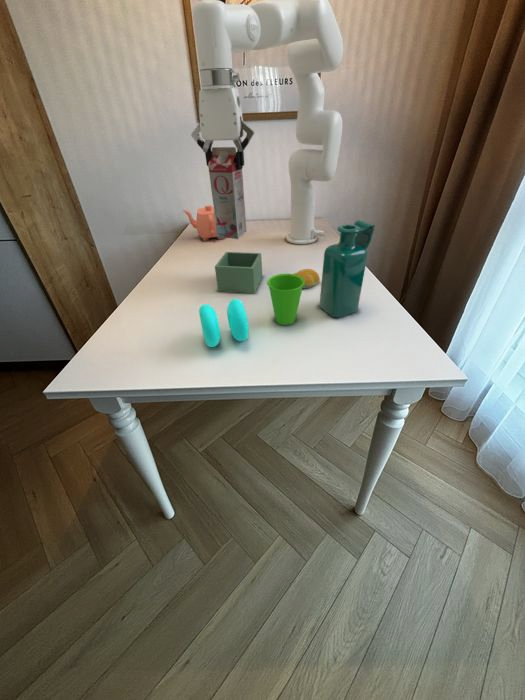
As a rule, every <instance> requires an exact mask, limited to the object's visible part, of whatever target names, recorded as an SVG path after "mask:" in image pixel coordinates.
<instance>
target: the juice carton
mask: <svg viewBox="0 0 525 700" xmlns="http://www.w3.org/2000/svg"><path fill="white" fill-rule="evenodd" d="M211 151H212V154H213V155H212V157H211V159H210V161H209V163H208V166H207V167H208V173H209V174H208V175H209V182H210V189H211V197H212V198H211V199H212V207H214V214H215V222H216V229H217V237H222V239H223V238H225V239H236V240H238V239H240V238H241V237H242V236H243V235H245V233H247V219H246V218H247V217H246V204H245V189H244V176H243V168H242V169H241V170H238V169H237V160H236V152H237V148H236V146H224V147H223V146H221V147H220V146H219V147H218V146H216V147H215V146H214V147H213V146H212V147H211ZM217 237H216V238H217Z"/></svg>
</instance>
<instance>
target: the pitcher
mask: <svg viewBox="0 0 525 700" xmlns="http://www.w3.org/2000/svg"><path fill="white" fill-rule="evenodd" d="M375 227H376V225H375V224H373V223H370V222H367V221H365V220H361V219H357V220H356V221H355V222H354V224H350V223H349V224H341V225H338V226H337V227H336V231H338V232H339V241H338V243H333V244H330V245H328V246H327V247H326V248H325V250H324V252H323V263H322V271H321V273H322V274H321V282H320V283H321V285H320V294H319V308H320V309H322V311H324V312H326V313H327V314H328V315H329V316H331V317H332V318H337V319H339V318H340V319H341V318H343V317H345V316H346V317H347V316H348V315H349V316H350V315H352V314H355V313H357V312H358V310H359V304H360V300H361V299H360V298H361V294H362V293H361V292H362V286H363V281H364V277H365V271H366V265H367V259H368V250H367V249H368V247H369V246H370V245H371V242H372V240H373V239H372V238H373V235H374V231H375Z"/></svg>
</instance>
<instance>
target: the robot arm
mask: <svg viewBox="0 0 525 700" xmlns="http://www.w3.org/2000/svg"><path fill="white" fill-rule="evenodd" d="M192 21H193V28H194V36H195V45H196V53H197V62H198V69H199V77H200V78H199V79H200V86H201V89H199V91H198V92H199V93H198V114H199V123H198V124H197V126H196V127H195V128H194V130H193V131H192V132H191V134H190V135H191V137H192V139H193V140H194V141H195V143H197V146H198V147H200V149H201V150H202V152H203V153H204V154H205V162H206V163H205V164H206V166H207V167H208V163H209V161H210V159H211V157H212V155H213V154H212V147H213V144H214V141H217V142H219V141H232V142H233V144H234V147H236V160H237V169H238V170H241V169H242V170H243V168H244V166H245V153H244V151H245V149H246V148H247V146H248V145H249V144H250V142H251V140H252V139H253V137H254V135H255V131H254V130H253V128H252V127H250V126H249V125H248V124H247V123H246V122H245V121H244V117H243V110H242V104H241V97H240V92H239V88H237V87H235V83H236V82H240V73H239V72H234V68H233V55H236V54H237V55H238V54H243V53H247V52H250V51H261V50H267V49H273V48H277V47H280V46H284V45H288V47H287V61H288V65H289V68H290V70H291V72H292V74H293V77H294V79H295V81H296V86H297V89H298V103H297V105H298V106H297V115H296V125H295V127H296V128H295V137H296V140H297V143H299V144H301V145H307V146H310V145H311V146H322V149H312V148H301V149H297V150H295V151H293V152H292V153H291V154H290V156H289V159H288V173H289V180H290V228H289V229H290V231H289V233H288V234H287V235H286V237H285V239H286V241H287V242H288V243H290V244H295V245H307V244H308V245H309V244H312V243H315V242H316V241H317V240H318V237H325V231H323V230H322V229H316V226H315V217H316V216H315V214H316V200H317V199H316V198H317V194H316V193H317V191H316V186H315V185H314V183H313V181H314V182H330V181H332V180H333V178H334V177H335V175H336V172H337V168H338V164H339V156H340V149H341V145H342V137H343V128H344V125H343V118H342V115H341V113H340V112H339V111H337V110H333V109H327V110H326V109H325V110H324V108H325V107H324V106H325V98H326V90H325V86H324V84H323V81H322V79H321V78H320V76H319V74H321V73H329V72H334V71H335V70H337V69H338V68H339V67H340V65H341V64H342V60H343V57H344V41H343V36H342V33H341V30H340V28H339V24H338V21H337V19H336V15H335V13H334V10H333V8H332V5H331V3H330V2H329V0H259V1H256V2H252V3H250V4H246V3H245V4H244V3H238V4H237V3H236V4H231V3H230V4H229V3H226V4H225V2H223V1H221V0H199V1H197V2H195V3H194V5H193V7H192ZM245 133H246V136H245V137H244V138H243V136H244V134H245ZM200 134H201V136H200ZM242 138H243V140H242Z"/></svg>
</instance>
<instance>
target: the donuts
mask: <svg viewBox="0 0 525 700" xmlns="http://www.w3.org/2000/svg"><path fill="white" fill-rule="evenodd" d="M226 308H227V309H226V315H227V321H228V326H229V330H230V333H231V335H232V336H233V338H234V339H235V340H236V341H239V342H244V341H246V340H247V339H248V337H249V333H250V331H249V321H248V316H247V312H246V309H245V306H244V304H243V301H241V300H240V299H238V298H233V299H231V300H230V301H229V303H228V304H227V307H226ZM198 313H199V318H200V325H201V329H202V334H203V338H204V342H205V344H206V346H208V347H209V348H215V347H216V346H218V345H219V343H220V341H221V331H220V324H219V319H218V316H217V313H216V311H215V308H213V306H211V305H210V304H206V303H204V304H202V305H201V306H200V307H199V309H198Z"/></svg>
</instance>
